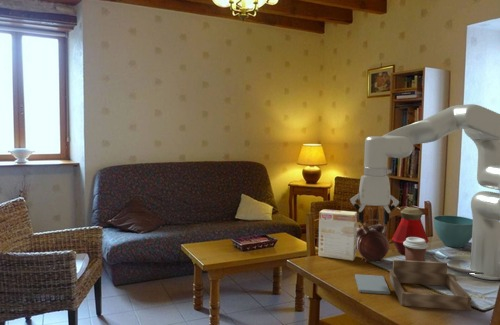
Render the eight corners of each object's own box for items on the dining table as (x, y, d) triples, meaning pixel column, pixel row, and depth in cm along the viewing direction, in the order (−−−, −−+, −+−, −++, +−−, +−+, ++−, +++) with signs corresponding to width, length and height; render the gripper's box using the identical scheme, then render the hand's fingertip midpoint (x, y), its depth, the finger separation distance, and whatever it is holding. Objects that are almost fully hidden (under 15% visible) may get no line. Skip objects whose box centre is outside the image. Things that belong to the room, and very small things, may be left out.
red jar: (412, 246, 184) (414, 204, 183) (435, 255, 172) (437, 210, 170) (384, 250, 179) (386, 206, 177) (406, 259, 166) (408, 212, 164)
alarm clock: (384, 258, 141) (384, 217, 140) (390, 262, 136) (390, 220, 135) (354, 259, 141) (354, 218, 140) (358, 264, 136) (358, 221, 135)
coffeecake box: (356, 256, 171) (357, 211, 169) (353, 261, 164) (354, 215, 162) (322, 251, 177) (322, 208, 175) (317, 256, 170) (318, 211, 168)
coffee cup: (397, 266, 159) (398, 236, 158) (417, 264, 160) (418, 235, 159) (411, 274, 150) (412, 243, 149) (432, 272, 152) (433, 242, 151)
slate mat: (382, 278, 145) (382, 275, 145) (390, 294, 132) (390, 291, 132) (354, 276, 147) (354, 274, 147) (359, 292, 133) (359, 289, 133)
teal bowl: (483, 251, 178) (485, 224, 177) (443, 250, 178) (444, 224, 177) (462, 239, 196) (464, 215, 195) (426, 239, 196) (427, 215, 195)
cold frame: (448, 284, 140) (449, 262, 139) (470, 310, 120) (472, 285, 120) (389, 281, 143) (390, 259, 142) (401, 305, 123) (402, 280, 123)
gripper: (399, 171, 138) (397, 221, 140) (348, 170, 141) (346, 219, 142) (404, 174, 131) (402, 227, 132) (350, 173, 133) (348, 224, 135)
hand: (373, 222), depth 137 cm, fingers closed on alarm clock, 7 cm apart
